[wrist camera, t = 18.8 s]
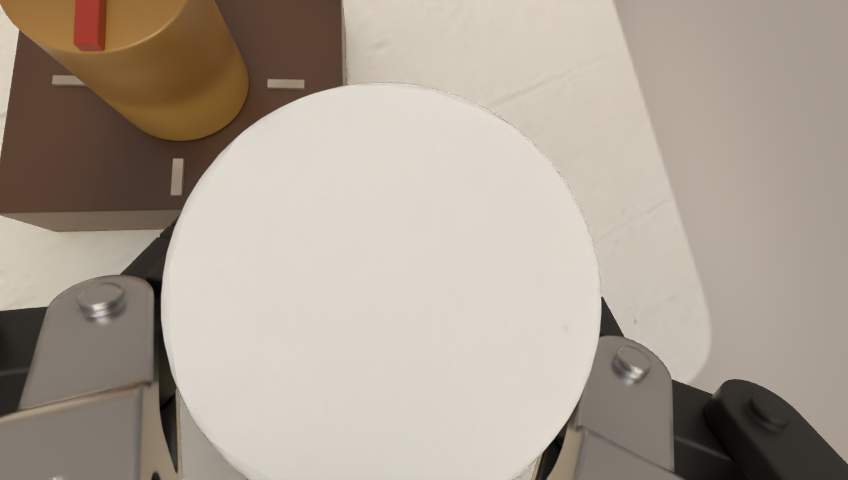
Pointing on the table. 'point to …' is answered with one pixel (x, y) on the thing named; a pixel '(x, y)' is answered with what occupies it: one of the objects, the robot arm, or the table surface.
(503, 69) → the table surface
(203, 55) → the knob
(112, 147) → the panel
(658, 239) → the table surface
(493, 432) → the pill bottle
